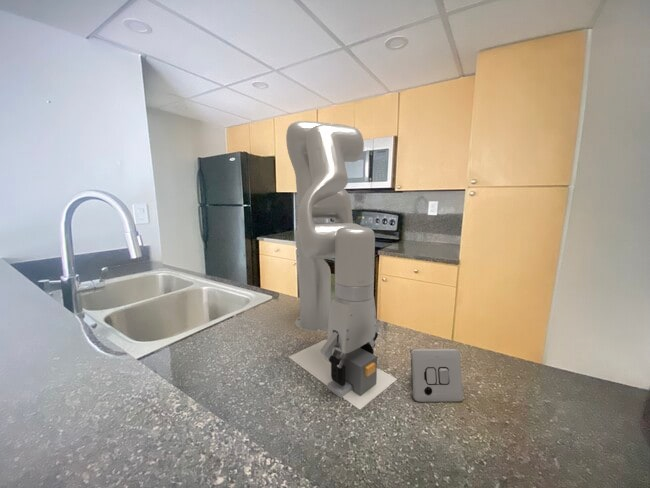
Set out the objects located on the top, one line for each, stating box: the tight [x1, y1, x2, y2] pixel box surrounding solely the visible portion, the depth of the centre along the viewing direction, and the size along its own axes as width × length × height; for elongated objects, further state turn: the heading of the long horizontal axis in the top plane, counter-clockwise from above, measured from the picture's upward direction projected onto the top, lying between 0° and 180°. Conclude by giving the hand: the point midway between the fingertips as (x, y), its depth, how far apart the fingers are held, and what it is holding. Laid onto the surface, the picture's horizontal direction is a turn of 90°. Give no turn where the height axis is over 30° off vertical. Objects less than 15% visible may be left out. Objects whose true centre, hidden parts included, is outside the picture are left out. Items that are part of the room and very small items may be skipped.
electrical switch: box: [409, 348, 464, 403], centre depth 51 cm, size 9×5×9 cm, turn 90°
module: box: [331, 346, 378, 396], centre depth 53 cm, size 5×9×6 cm, turn 43°
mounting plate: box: [288, 339, 398, 410], centre depth 58 cm, size 12×22×2 cm, turn 42°
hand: (353, 372), depth 53 cm, fingers open, 8 cm apart
